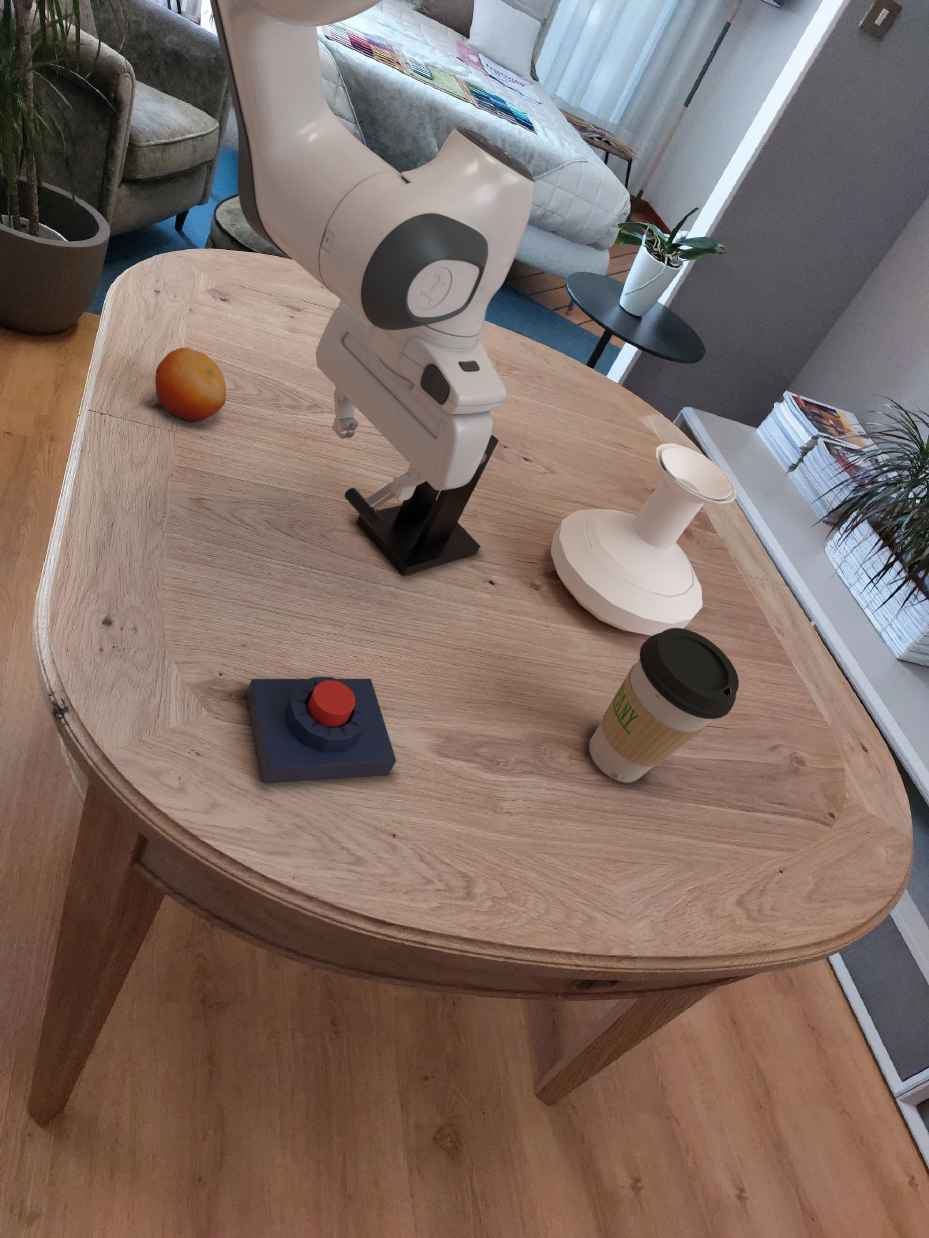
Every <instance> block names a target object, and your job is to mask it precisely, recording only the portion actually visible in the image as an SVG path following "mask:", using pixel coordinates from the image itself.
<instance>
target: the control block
mask: <svg viewBox="0 0 929 1238" xmlns="http://www.w3.org/2000/svg"><path fill="white" fill-rule="evenodd" d="M327 680H333V681H338V682H341V683H343V684H344V685H346V686H347V687H349V688H350V690H351V691H352V692H353V694H354V696H355V706H354V708H353V710H352V712H351V714H350V716H349V718H348V720H347V721H346V722H345V723H344V724H343V725H341V726H338V727H327V726H324V725H321V724H319V723H318V722H316V721H315V720H314V719H313V718H312V717H311V715H310V713H309V711H308V702H309V700H310V697H311V695H312V693H313V691H314V688H315V687H316V686H317V685H318V684H319V683H321V682H323V681H327ZM245 696H246V702H247V707H248V711H249V718H250V723H251V728H252V732H253V739H254V743H255V748H256V754H257V759H258V764H259V769H260V775H261V779H262V783H263V784H270V783H273V784H274V783H285V782H287V783H288V782H302V781H317V780H319V781H320V780H332V779H333V780H334V779H351V778H364V777H365V778H366V777H380V776H389V775H390V773H391V771H392V769H394V766H395V764H397V763H396V762H397V759H396V756H395V752H394V748H393V746H392V742H391V739H390V736H389V733H388V729H387V726H386V723H385V721H384V716H383V714H382V710H381V707H380V703H379V700H378V698H377V697H378V696H377V694H376V691H375V687H374V684H373V681H372V678H335V677H333V676H312V677H309V678H252V679H251V680H250V682H249V686H248V688H247V690H246V693H245Z"/></svg>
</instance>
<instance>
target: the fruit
mask: <svg viewBox="0 0 929 1238" xmlns="http://www.w3.org/2000/svg"><path fill="white" fill-rule="evenodd" d="M154 381H155V393H156V400H155V401H153V402H151V403H150V406H154V405H161V406H162V407H163V408H164V409H166V410H167V411H168V412H169V413H170V414H171V415H172V414H173V415H174V416H176V417H178V418H181V419H184V420H186V421H188V422H191V423H196V422H203V421H204V420H207V419H209V418H210V417H212V416H214V415H215V414H216V413H218V412H219V411H220V410H221V409H222V408H223V406H225V404H226V400H227V399H226V398H227V397H226V396H227V386H226V380H225V377H224V374H223V371H222V369H221V368H220V367H219V366H218V364H217V363H216V362H215V361H214V360H212V359H211V358H210V357H209V356H208V355H207V354H206V353H204V352H202V351H198V350H195V349H192V348H189V347H180V348H177V349H174V350H172V351H169V352H168V353H167V354H166V355H165V356H164V358H163V359H162V360H161V361H160V362H159V364H158V365H157V366H156V369H155V380H154Z"/></svg>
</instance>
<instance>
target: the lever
mask: <svg viewBox="0 0 929 1238" xmlns="http://www.w3.org/2000/svg"><path fill="white" fill-rule="evenodd" d="M405 475H408V476H411V474H410V473H409V472H408V470H407V471H406V472H404V473H403V474H401V475H400V476H399V477H403V476H405ZM390 486H392V481H390V482H389V483H388V484H387V485H385V486H383V487H382V488H380V489H379V490H378V491H376V492H375V493H373V494H371V495H370V496H369V497H367V498H365V497H364V496H363V495H362V494H361V493H360V492H359V491H358V489H356V487H350V488H349V489H347V490H346V491H345V493H344V499H345V500H346V501H347V502H348V503H349V504H350V505H351V506H352V507H353V508H354V510H355V511H356V512H357V513H358V515H361V516H362V517H363V519H364V520H365V521H366V522H367V523H368V524H369V525H370V526H371V527H372V529H374V530H377V529H379V528H380V527H381V526H382V525H383V524H384V520H383V518H382V517H381V516H380V515H379V514H378V513H377V512H376V511H377V510H378V508H380V507H381V506H383V505H385V504H386V503H387V502H389V501H390V500H392V499H393V498H395V496H394V495H393V494H392V493H391V492H390V491H389V488H390Z"/></svg>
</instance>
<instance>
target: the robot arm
mask: <svg viewBox="0 0 929 1238" xmlns="http://www.w3.org/2000/svg"><path fill="white" fill-rule="evenodd" d="M382 1H383V0H209V3H210V7H211V12H212V17H213V22H214V27H215V30H216V35H217V39H218V40H217V41H218V44H219V49H220V52H221V57H222V62H223V65H224V70H225V74H226V79H227V82H228V87H229V92H230V96H231V101H232V105H233V110H234V116H235V121H236V127H237V144H238V145H237V148H238V149H237V150H238V151H237V152H238V153H237V193H238V199H239V204H240V208H241V212H242V214H243V217H244V219H245V221H246V222H247V224H248V226H249V227H250V228H251V230H252V231H253V232H254V233H255V234H256V235H258V236H259V237H260V238H261V239H263V240H264V241H266V242H267V243H269V244H270V245H271V246H273V247H274V248H276V249H277V250H279V252H281V253H283V254H284V255H286V256H287V257H289V258H291V259H292V260H293V261H294V262H295V263H297V264H298V265H299V266H300V267H301V268H302V269H303V270H304V271H306V272H307V273H308V274H309V275H310V276H312V277H313V278H314V279H315V280H316V281H317V282H318V283H320V284H321V285H322V286H323V287H324V288H325V289H327V290H328V291H329V292H330V293H331V294H333V295H334V296H336V297H337V298H338V299H339V304H338V306H337V307H336V308H335V309H334V311H333V312H332V314H331V316H330V318H329V320H328V321H327V323H326V326H325V328H324V329H323V332H322V335H321V337H320V339H319V341H318V343H317V347H316V350H315V361H316V367H317V368H318V370H319V371H320V372H322V373H323V374H324V376H326V378H327V379H328V380H329V381H330V382H331V383H332V384H333V385H334V387H335V389H334V392H333V403H334V412H335V417H334V420H333V423H332V426H331V430H332V431H333V432H334V433H335V434H336V435H337V436H338V438H340V439H341V440H344V439H351V438H353V437H354V435H355V434H356V429H357V428H358V426H359V422H358V421H357V419H356V418H355V407H356V409H357V410H358V411H359V412H360V413H361V415H363V416H364V417H365V418H366V419H367V420H368V422H369V423H370V424H371V425H372V426H373V427H374V428H375V429H376V430H377V431H378V432H379V433H380V434H381V435H382V436H383V437H384V438H385V439H386V440H387V441H388V442H389V444H391V445H392V447H393V448H394V449H395V450H396V451H397V452H398V453H399V454H400V455H401V456H402V457H403V458H404V459H405V460H406V461H407V462H408V463H409V466H408V468H407V471H408V472H409V473H410V474H411V476H408V475H405V476H403V477H400V476H395V477H393V479H392V481H391V482H392V486H390V488H389V491H390V492H391V493H392V494H393V495H394V498H395V499H396V500H397V501H398V502H403V501H404V500H408V499H409V498H410V497H411V496H412V494H413V492H414V490H415V488H416V486H417V485H420V484H421V483H423V482H425V481H427V482H428V483H429V484H430V485H431V486H432V487H433V488H434V489H435V490H439V491H441V490H448V489H454V488H458V487H461V486H463V485H466V484H467V483H468V482H469V481H470V480H471V479H472V477H473V475H474V474H475V472H476V470H477V468H478V466H479V463H480V461H481V459H482V457H483V455H484V452H485V450H486V447H487V445H488V442H489V439H490V436H491V435H492V433H493V432H492V431H493V417H492V416H493V415H492V414H491V411H494V410H497V409H499V408H501V407H502V406H503V404H504V402H505V401H506V399H507V389H506V387H505V385H504V382H503V381H502V379H501V377H500V375H499V374H498V372H497V370H496V368H495V367H494V365H493V363H492V362H491V359H490V358H489V356H488V353H487V351H486V349H485V346H484V344H483V342H482V340H481V338H480V335H481V333H482V331H483V329H484V325H485V321H486V313H487V309H488V306H489V304H490V302H491V300H492V298H493V297H494V295H495V294H496V293H497V292H498V291H499V290H500V288H501V287H502V285H503V284H504V283H505V280H506V278H507V276H508V273H509V272H510V269H511V268H512V265H513V263H514V260H515V258H516V255H517V253H518V250H519V248H520V245H521V242H522V240H523V238H524V234H525V232H526V229H527V226H528V222H529V220H530V216H531V213H532V210H533V205H534V202H535V196H536V189H537V185H536V184H537V183H536V181H535V178H534V177H533V174H532V173H531V171H530V169H529V168H528V167H527V166H526V165H525V164H524V163H522V162H521V161H520V160H518V159H517V158H515V157H514V156H513V155H512V154H510V153H508V152H507V151H506V150H505V149H503V148H502V147H499V146H498V145H496V144H495V143H494V142H492V141H491V140H490V139H488V138H486V137H485V136H483V135H481V134H480V133H478V132H477V131H473V130H471V129H468V128H461V127H459V128H458V127H456V128H453V129H452V131H451V132H450V133H449V135H448V136H447V137H446V139H445V141H444V143H443V144H442V145H441V147H440V150H439V152H438V153H437V155H436V156H435V157H434V158H433V159H431V160H430V161H428V162H427V163H425V164H423V165H421V166H419V167H416V168H413V169H411V170H405V171H401V172H399V171H398V170H397V169H395V168H394V167H393V166H392V165H390V164H389V163H388V162H387V161H385V160H384V159H383V158H382V157H380V156H379V155H378V154H377V153H375V152H374V151H372V150H371V149H370V148H369V147H367V146H366V145H365V144H364V143H362V142H361V141H360V140H359V139H357V137H355V136H354V134H353V133H351V132H350V130H348V128H347V127H345V125H344V124H343V123H342V122H341V121H340V120H339V119H338V117H337V116H336V115H335V113H334V112H333V111H332V109H331V108H330V106H329V104H328V102H327V100H326V98H325V94H324V85H323V76H322V67H321V66H322V65H321V56H320V47H319V37H318V27H324V26H329V25H333V24H336V23H340V22H343V21H346V20H349V19H351V18H354V17H356V16H358V15H360V14H362V13H365V12H366V11H368V10H370V9H371V8H373V7H375V6H376V5H378V4H380V3H381V2H382Z"/></svg>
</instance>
